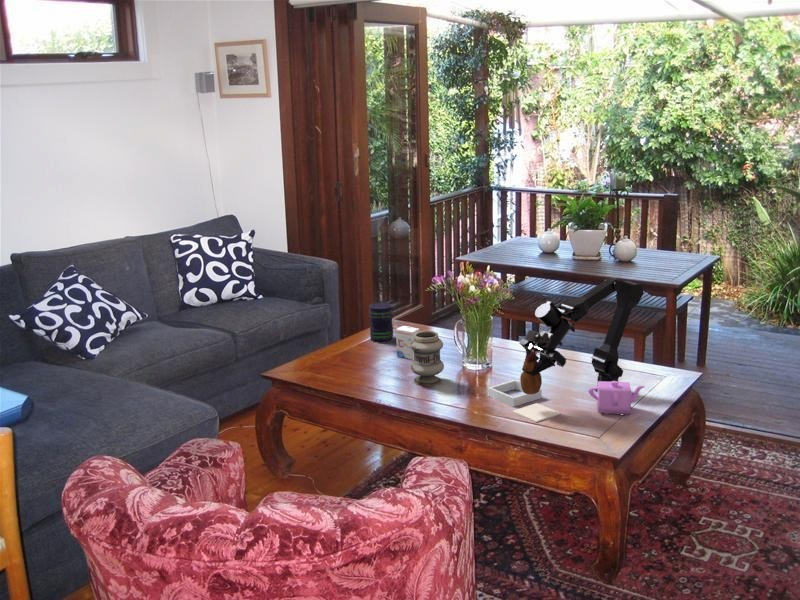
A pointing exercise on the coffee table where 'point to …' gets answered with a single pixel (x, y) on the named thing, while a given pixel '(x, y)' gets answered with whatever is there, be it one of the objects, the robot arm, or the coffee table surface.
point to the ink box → (405, 341)
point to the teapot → (614, 397)
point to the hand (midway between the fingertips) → (527, 372)
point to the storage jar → (381, 322)
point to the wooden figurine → (530, 376)
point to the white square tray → (498, 394)
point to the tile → (536, 412)
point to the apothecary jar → (427, 358)
